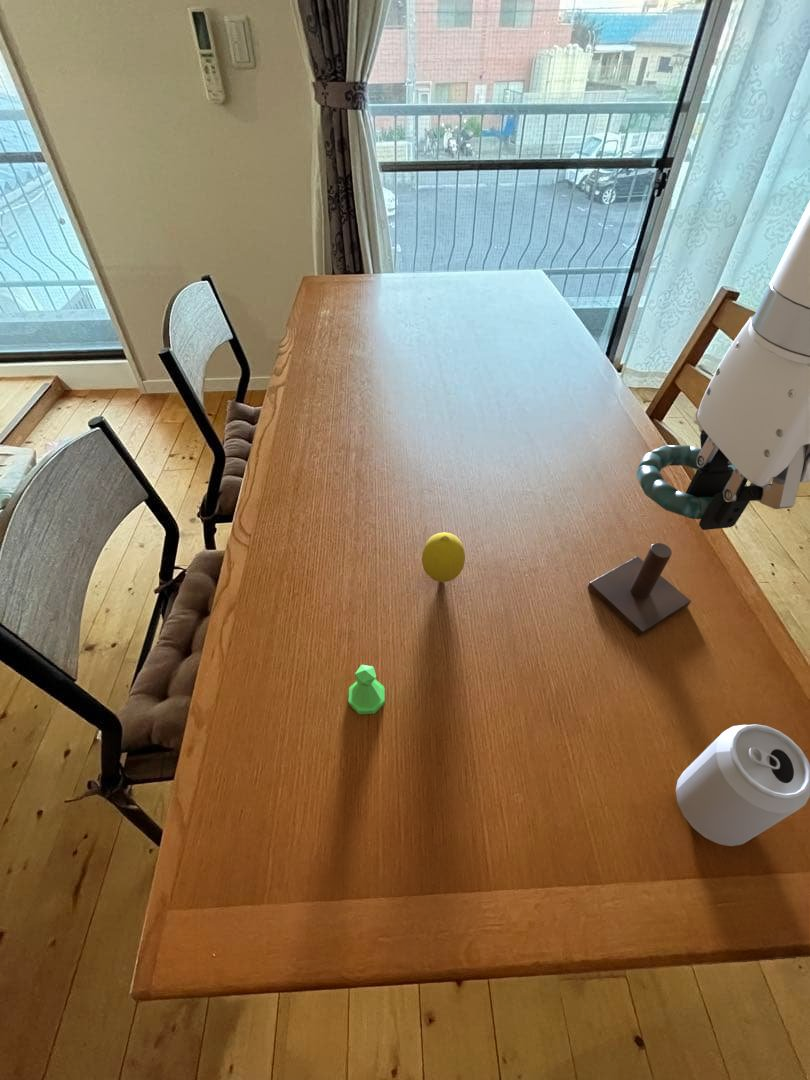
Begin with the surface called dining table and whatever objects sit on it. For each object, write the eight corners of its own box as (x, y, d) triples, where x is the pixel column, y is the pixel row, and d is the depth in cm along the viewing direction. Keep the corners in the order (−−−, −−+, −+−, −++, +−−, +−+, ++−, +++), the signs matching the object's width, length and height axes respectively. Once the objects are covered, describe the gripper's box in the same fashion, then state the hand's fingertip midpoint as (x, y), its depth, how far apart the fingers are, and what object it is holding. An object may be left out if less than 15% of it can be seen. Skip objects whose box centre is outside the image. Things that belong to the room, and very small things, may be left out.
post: (687, 606, 71) (718, 559, 65) (639, 637, 68) (666, 591, 61) (634, 561, 77) (657, 513, 70) (587, 588, 73) (606, 540, 67)
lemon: (433, 556, 77) (436, 515, 71) (469, 572, 75) (475, 531, 69) (413, 582, 74) (414, 541, 68) (450, 600, 72) (454, 559, 66)
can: (756, 861, 51) (830, 820, 43) (672, 832, 53) (726, 787, 44) (750, 782, 56) (815, 731, 48) (672, 758, 58) (722, 705, 49)
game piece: (357, 675, 64) (354, 647, 60) (391, 687, 63) (391, 660, 59) (341, 707, 61) (337, 680, 57) (376, 721, 60) (375, 694, 56)
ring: (761, 500, 52) (772, 484, 51) (694, 537, 49) (703, 521, 48) (680, 446, 58) (687, 430, 57) (614, 476, 55) (620, 460, 53)
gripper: (963, 379, 33) (797, 577, 46) (794, 270, 43) (700, 456, 57) (848, 388, 32) (713, 586, 45) (705, 275, 43) (631, 462, 56)
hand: (707, 513), depth 51 cm, fingers closed on ring, 2 cm apart
